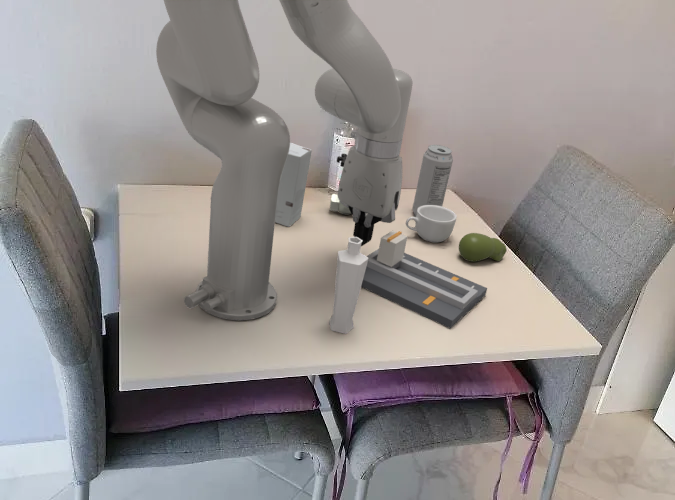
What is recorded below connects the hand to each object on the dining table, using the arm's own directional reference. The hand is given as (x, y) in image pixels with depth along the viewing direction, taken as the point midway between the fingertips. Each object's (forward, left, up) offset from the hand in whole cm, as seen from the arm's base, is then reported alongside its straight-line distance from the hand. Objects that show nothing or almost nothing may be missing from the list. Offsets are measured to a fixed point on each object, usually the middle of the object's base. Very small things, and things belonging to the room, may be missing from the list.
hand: (361, 242), depth 122 cm
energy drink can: (+28, +1, -4) cm, 28 cm away
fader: (0, -6, -2) cm, 6 cm away
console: (0, -12, -4) cm, 13 cm away
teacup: (+19, -4, -4) cm, 20 cm away
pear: (+19, -16, -4) cm, 25 cm away
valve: (+15, +13, -4) cm, 20 cm away
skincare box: (+3, +21, -4) cm, 22 cm away
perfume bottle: (-19, -9, -4) cm, 22 cm away
